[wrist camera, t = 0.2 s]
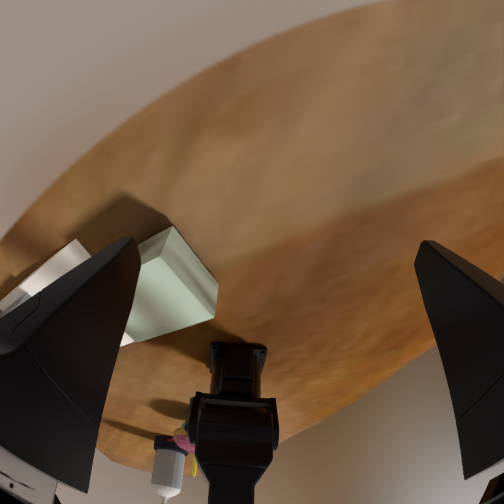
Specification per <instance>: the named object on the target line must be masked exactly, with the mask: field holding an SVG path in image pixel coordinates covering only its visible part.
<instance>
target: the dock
mask: <svg viewBox="0 0 504 504" xmlns="http://www.w3.org/2000/svg"><path fill="white" fill-rule="evenodd" d="M90 257H91V255H90V254H89V253H88V252H87V251H86V249H85V248H84V247H83V246H82V245H81V244H80V242H79V241H78V240H77V239H75V240H73V241H72V242H71V243H69V244H68V245H67V246H65V247H64V248H63V249H61V250H60V251H59V252H58V253H56V254H55V255H54V256H53V257H51V258H50V259H49V260H48V261H46V262H45V263H44V264H43V265H41V266H40V267H39V268H38V269H36V270H35V271H34V272H33V273H32V274H31V275H29V276H28V277H27V278H26V279H25V280H24V281H22V282H21V283H20V284H19V285H18V286H17V287H16V288H14V289H13V290H12V291H11V292H10V293H9V294H8V295H7V296H5V297H4V298H3V299H2V300H1V301H0V318H1V317H2V316H4V315H5V314H7V313H8V312H10V311H11V310H13V309H14V308H16V307H17V306H19V305H20V304H22V303H23V302H25V301H26V300H28V299H29V298H30V297H32V296H33V295H35V294H36V293H37V292H39V291H41V290H42V289H43V288H45V287H46V286H48V285H49V284H51V283H52V282H53V281H55V280H56V279H58V278H59V277H61V276H62V275H64V274H65V273H67V272H68V271H70V270H71V269H73V268H74V267H76V266H77V265H79V264H81V263H82V262H84V261H85V260H87V259H88V258H90ZM131 342H134V340H133V339H132V338H131V337H130V336H129V335H128V334H126V333H125V332H124V335H123V338H122V341H121V345H120V347H121V346H123V345H126V344H129V343H131Z"/></svg>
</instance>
